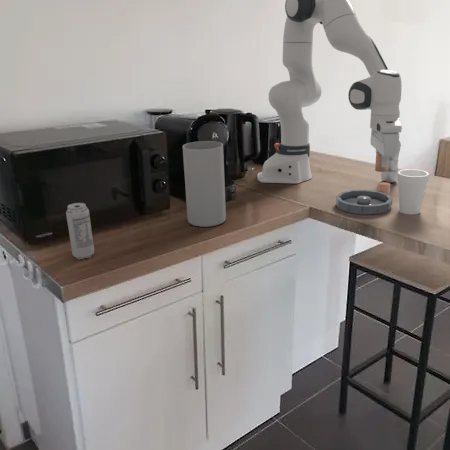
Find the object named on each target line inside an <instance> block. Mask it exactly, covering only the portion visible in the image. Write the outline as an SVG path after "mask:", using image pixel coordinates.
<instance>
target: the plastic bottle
mask: <svg viewBox="0 0 450 450" xmlns="http://www.w3.org/2000/svg"><path fill="white" fill-rule="evenodd" d="M401 146H402V144H401V141H400V140H399V144H398V151H397V154H396V156H395V157H389V159H388V171H386V172H380V173H381V174H380V179H381V181H382V182H386V183H396V182H398V180H397V177H398V171H399V169H398V167H399V155H400V152H401V148H402V147H401Z"/></svg>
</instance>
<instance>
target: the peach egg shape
mask: <svg viewBox="0 0 450 450" xmlns="http://www.w3.org/2000/svg"><path fill="white" fill-rule="evenodd" d="M381 160H382V154H378V155H375V163H374V164H375V168H374V171H375V172H378V173H382V172H386V171H388V162H387V167H381V165H380V164H381Z"/></svg>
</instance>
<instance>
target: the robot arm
mask: <svg viewBox="0 0 450 450" xmlns="http://www.w3.org/2000/svg"><path fill="white" fill-rule="evenodd" d="M284 5H285V6H284V9H285V14H286V18H285V24H284V29H283V39H282V40H283V41H282V65H283V66H284V68H286V69H287V72H288V75H289V80H285V81H281V82H279V83H277V84H275V85H273V86H272V87H271V88H270V90H269V91H268V101H269V104H270V106H271V107H272V108H273V109H274V110H275V112H276V113H277V116H278V119H279V124H280V135H281V136H280V140H281V141H280V143H278V142H276V143H274V148H275V151H276V152H275V153H274V154H273V155H272V156H270V157H269V158H267V160H265V161H264V163H263V166H262V171H260V172H258V174H257V175H256V177H257V178H256V180H257V181H259V182H260V183H264V184H268V183H269V184H300V183H302V182H305V181H309V180H311V179H312V178H313V176H312V172H311V166H310V154H311V144H310V143H309V141H310V123H309V122H308V121H307V120H306V119H305V118H304V114H303V109H302V108H306V107H310V106H312V105H314V104H315V103H317V102H318V101H319V100H320V99H321V97H322V96H321V95H322V86H321V84H320V83H319V82H318V81H317V79H316V76H315V73H314V68H313V43H314V41H313V40H314V29H315V27H316V26H317V24H320V25H322V27H323V30H324V32H325V36H326V38H327V41H328V42H329V44H330V45H331V47H332V48H334V49H335V50H337V51H339V52H341V53H346V54H349V55H352V56H354V57H356V58H357V59H359V60H360V61H361V62H362V63H363V64H364V66H365V68H366V71H367V73H368V74H369V76H368V77H366V78H363V79H361V80H357V81H355V82H353V83H352V84H351V85H350V86H349V87H350V88H349V90H348V103H349V104H350V105H351V107H352V109H353V108H354V110H358V111H366V110H370V120H369V121H370V124H369V128H370V129H371V132H370V145H371V146H372V147H373V148H374V149H375V154H376V155H378V154H382V160H381V164H380V165H381V167H387V162H388V159H389V157H395V156H396V154H397V151H398V144H399V141H400V133H401V132H402V129H403V127H402V124H401V122H400V121H401V120H400V113H401V110H400V103H401V99H402V77H401V75H400V73H399V72H398V71H396V70H392V69H389V68H388V67H387V65H386V63H385V60H384V58H383V57H382V54H381V53H380V51H379V49H378V47H377V45H376V44H375V41H374V40H373V39H372V38H371V37H370V36H369V35H368V34H367V33H366V31H365V30H364V28H363V26H362V25H361V23H360V21H359V20H358V17H357V15H356V12H355V10H354V8H353V6H352V3H351V2H350V0H285V2H284ZM376 155H375V156H376Z"/></svg>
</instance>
